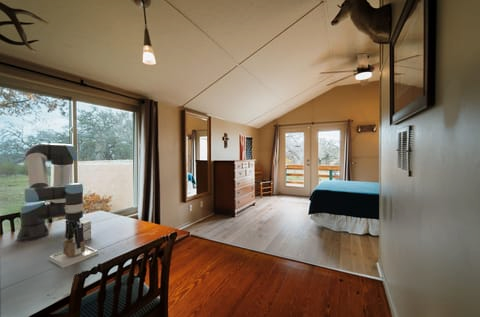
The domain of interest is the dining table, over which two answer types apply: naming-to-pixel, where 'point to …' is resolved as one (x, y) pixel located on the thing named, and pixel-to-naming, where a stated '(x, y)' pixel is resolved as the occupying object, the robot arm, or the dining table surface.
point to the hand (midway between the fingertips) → (74, 252)
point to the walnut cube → (71, 247)
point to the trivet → (66, 261)
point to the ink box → (86, 229)
